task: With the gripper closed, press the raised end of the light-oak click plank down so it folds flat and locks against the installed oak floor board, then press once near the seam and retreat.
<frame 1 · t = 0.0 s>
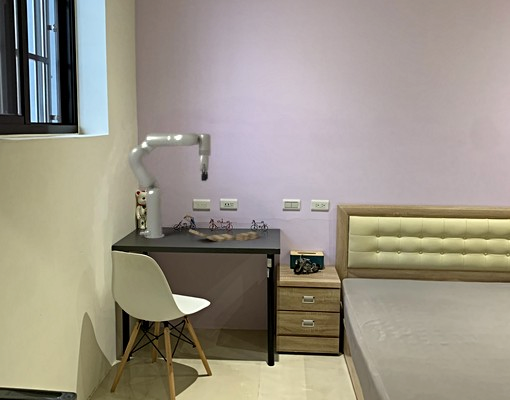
hand: (204, 180, 367), 37 cm above the table, tool pointing down, fingers open, 9 cm apart
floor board: (222, 239, 365), on the table
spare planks: (247, 238, 367), on the table
plank: (202, 235, 357), point 4 cm above the table, hinge at 24.0°
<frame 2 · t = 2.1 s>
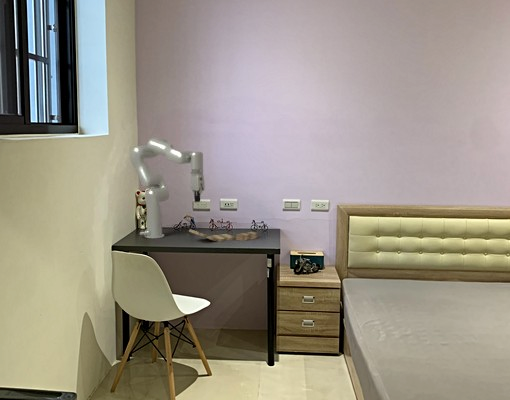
hand: (197, 201, 352), 25 cm above the table, tool pointing down, fingers closed
nothing on the table moved.
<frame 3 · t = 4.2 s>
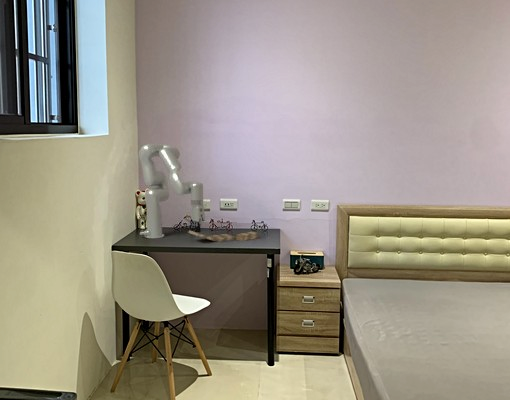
hand: (197, 232, 354), 6 cm above the table, tool pointing down, fingers closed
plank: (202, 235, 357), point 3 cm above the table, hinge at 20.6°, touching gripper
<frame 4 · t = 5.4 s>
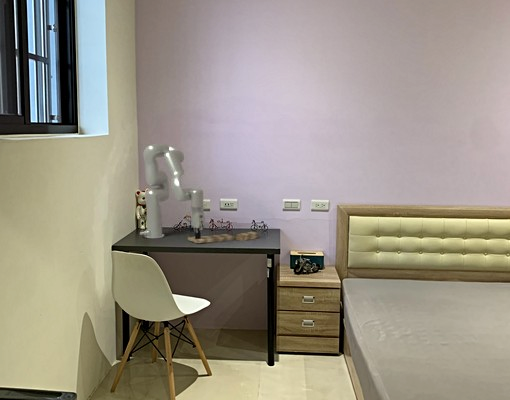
hand: (197, 238, 355), 2 cm above the table, tool pointing down, fingers closed
plank: (202, 239, 357), point 1 cm above the table, hinge at 2.6°, touching gripper
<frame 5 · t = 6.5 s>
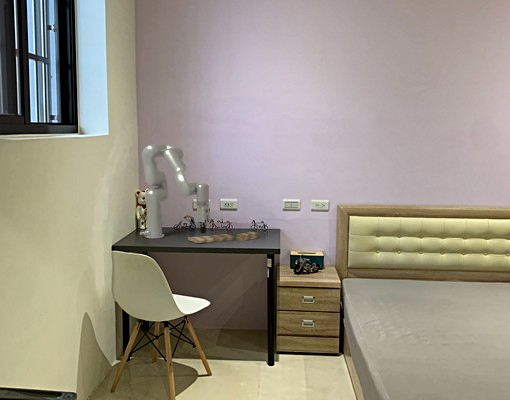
hand: (203, 232, 357), 5 cm above the table, tool pointing down, fingers closed
plank: (202, 239, 357), point 1 cm above the table, hinge at 2.6°
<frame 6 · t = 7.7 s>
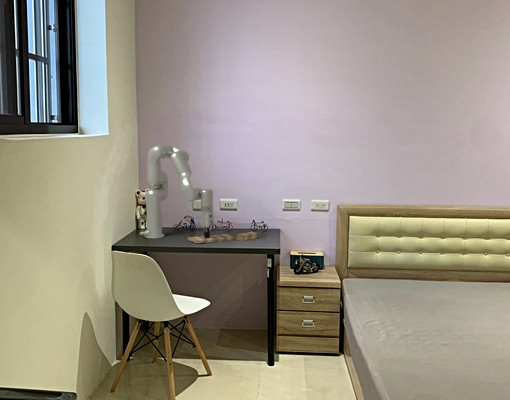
hand: (207, 237, 359), 2 cm above the table, tool pointing down, fingers closed
plank: (202, 239, 357), point 1 cm above the table, hinge at 2.6°, touching gripper
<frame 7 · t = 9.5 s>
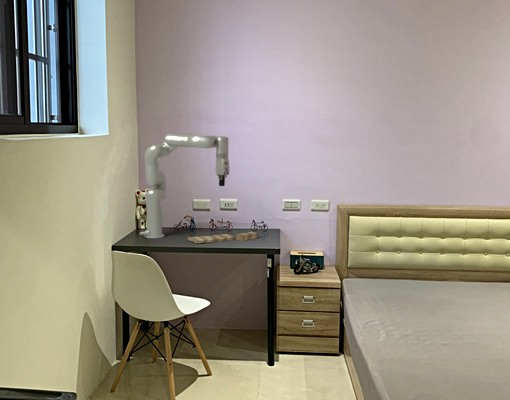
hand: (221, 185, 357), 34 cm above the table, tool pointing down, fingers closed
plank: (202, 239, 357), point 1 cm above the table, hinge at 2.6°
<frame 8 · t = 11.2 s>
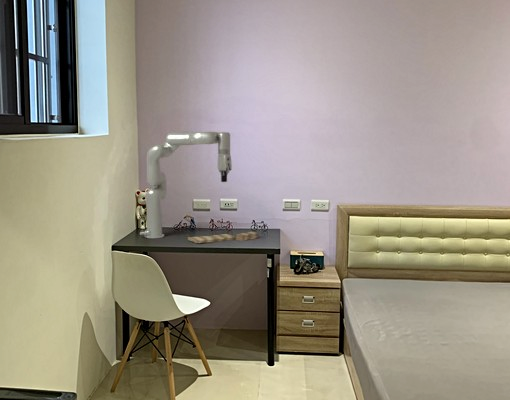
hand: (224, 181, 357), 37 cm above the table, tool pointing down, fingers closed
nothing on the table moved.
at the end: plank at +3° (first picture: +24°); plank touching nothing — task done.
